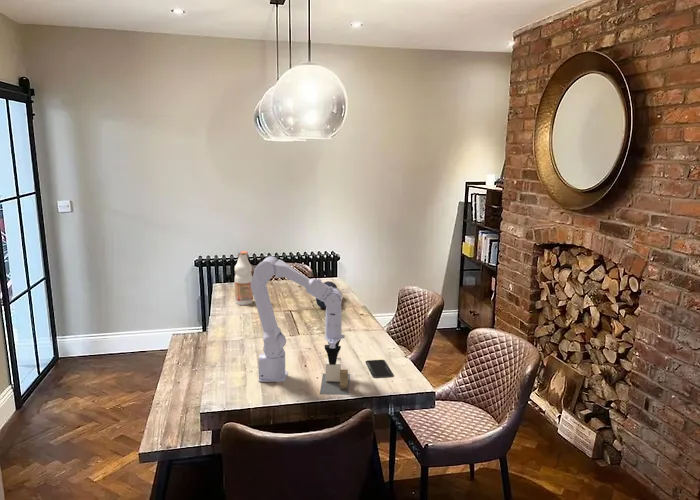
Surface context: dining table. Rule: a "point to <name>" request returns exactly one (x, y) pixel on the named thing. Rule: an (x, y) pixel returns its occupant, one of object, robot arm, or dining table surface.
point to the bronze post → (343, 379)
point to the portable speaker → (321, 303)
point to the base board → (333, 387)
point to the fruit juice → (243, 280)
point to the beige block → (333, 371)
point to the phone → (379, 368)
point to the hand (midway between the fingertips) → (333, 359)
